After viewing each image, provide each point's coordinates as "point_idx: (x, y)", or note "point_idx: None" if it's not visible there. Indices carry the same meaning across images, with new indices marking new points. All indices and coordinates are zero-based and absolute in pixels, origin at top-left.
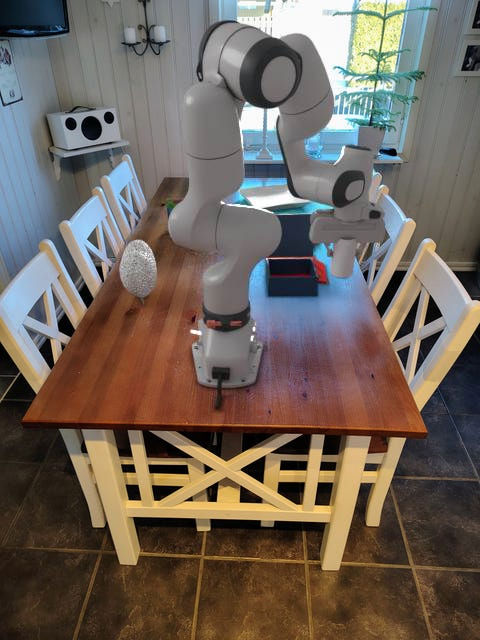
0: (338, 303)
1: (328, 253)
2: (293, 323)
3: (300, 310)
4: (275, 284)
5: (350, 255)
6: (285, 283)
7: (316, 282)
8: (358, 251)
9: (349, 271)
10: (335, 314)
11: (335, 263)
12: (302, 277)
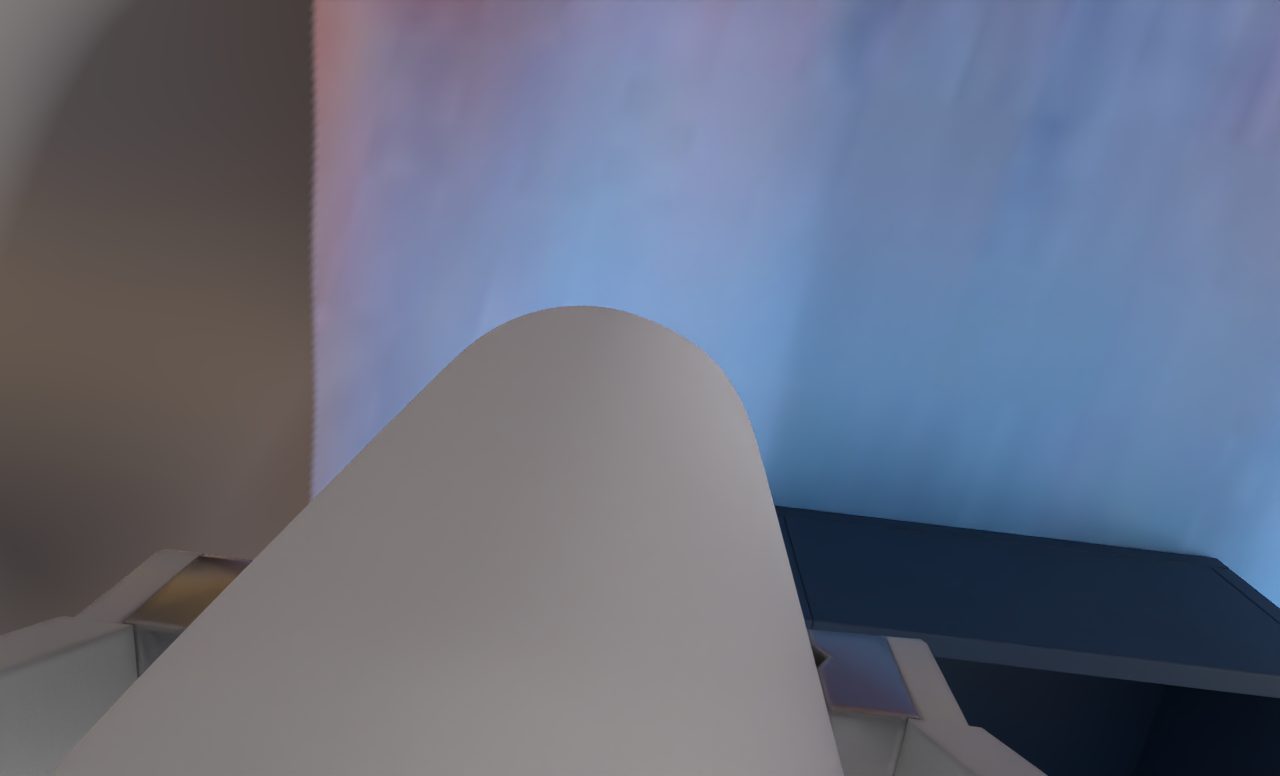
0: None
1: (945, 690)
2: (1160, 61)
3: (1001, 287)
4: (1236, 624)
5: (420, 455)
6: (1133, 618)
7: (798, 583)
8: (150, 624)
9: (489, 344)
10: (686, 170)
11: (755, 471)
12: (980, 638)
